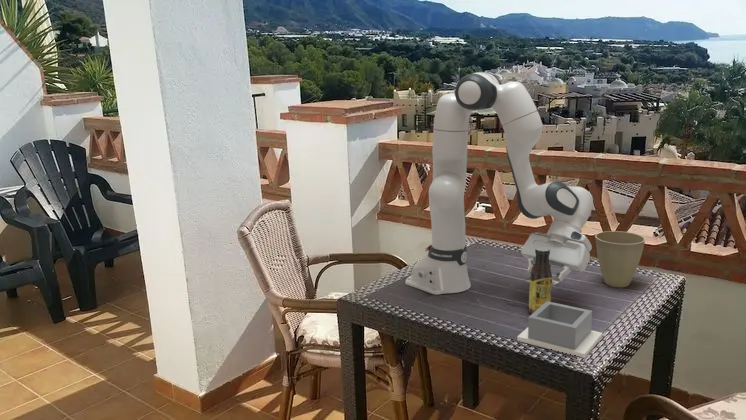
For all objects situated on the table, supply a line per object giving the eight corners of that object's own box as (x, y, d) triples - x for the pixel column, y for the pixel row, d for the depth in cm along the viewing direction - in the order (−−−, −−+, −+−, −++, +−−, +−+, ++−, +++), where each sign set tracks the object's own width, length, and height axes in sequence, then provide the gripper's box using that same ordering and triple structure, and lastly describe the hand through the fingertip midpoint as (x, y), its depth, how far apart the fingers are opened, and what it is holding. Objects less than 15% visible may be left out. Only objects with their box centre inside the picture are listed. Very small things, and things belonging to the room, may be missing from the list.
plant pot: (635, 295, 182) (638, 246, 179) (587, 286, 191) (589, 239, 188) (647, 280, 194) (650, 234, 190) (601, 272, 203) (603, 228, 199)
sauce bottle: (535, 318, 170) (537, 253, 165) (524, 310, 176) (525, 247, 171) (555, 315, 171) (557, 250, 167) (543, 307, 177) (545, 244, 172)
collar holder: (517, 340, 157) (517, 315, 155) (538, 321, 168) (538, 298, 166) (584, 358, 146) (585, 331, 144) (602, 336, 157) (603, 312, 155)
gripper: (528, 225, 181) (509, 263, 177) (590, 237, 166) (571, 278, 163) (536, 235, 185) (518, 273, 181) (597, 248, 170) (579, 289, 166)
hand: (543, 276), depth 172 cm, fingers open, 8 cm apart
